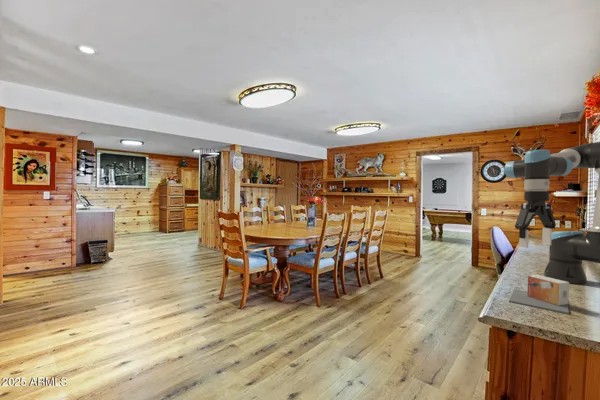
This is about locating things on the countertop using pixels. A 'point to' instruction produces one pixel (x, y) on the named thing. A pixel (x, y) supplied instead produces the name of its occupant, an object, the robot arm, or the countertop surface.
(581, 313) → the countertop surface
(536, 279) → the small box
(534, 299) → the slate mat
